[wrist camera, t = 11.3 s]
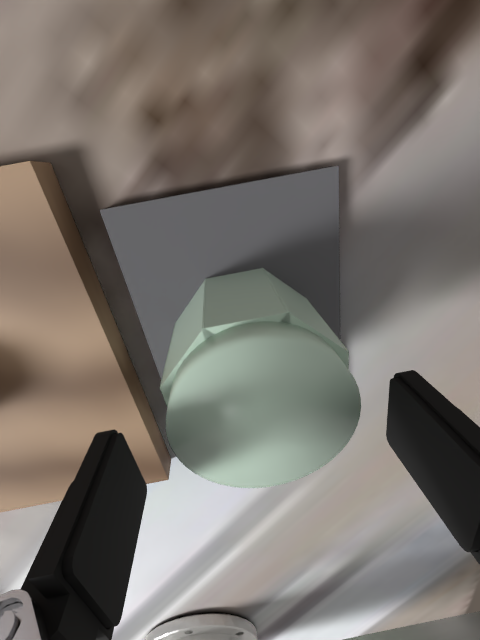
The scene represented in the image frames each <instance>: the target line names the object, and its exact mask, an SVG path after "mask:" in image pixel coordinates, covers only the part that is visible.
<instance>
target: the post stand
mask: <svg viewBox="0 0 480 640" xmlns="http://www.w3.org/2000/svg"><path fill="white" fill-rule="evenodd" d="M114 429H115V430H117V432H118V433H122V434H123V435H124V437H125V440H126V442H127V444H128V446H129V448H130V450H131V452H132V455H133V457H134V459H135V461H136V463H137V465H138V467H139V470H140V472H141V474H142V476H143V478H144V480H145V482H146V484H149V483H154V482H159V481H164V480H168V479H169V471H170V464H171V457H170V455H169V452H168V450H167V448H166V445H165V443H164V440H163V438H162V435H161V433H160V430H159V428H158V425H157V423H156V421H155V418H154V416H153V413H152V411H151V408H150V406H149V403H148V401H147V398H146V396H145V394H144V391H143V389H142V386H141V384H140V381H139V379H138V376H137V374H136V371H135V369H134V367H133V364H132V362H131V359H130V357H129V354H128V352H127V349H126V347H125V344H124V342H123V340H122V337H121V335H120V332H119V330H118V327H117V325H116V322H115V320H114V317H113V315H112V313H111V310H110V308H109V305H108V303H107V300H106V298H105V295H104V293H103V290H102V288H101V285H100V283H99V281H98V278H97V276H96V273H95V271H94V268H93V266H92V263H91V261H90V258H89V256H88V254H87V251H86V249H85V246H84V244H83V241H82V239H81V236H80V234H79V231H78V229H77V227H76V224H75V222H74V219H73V217H72V214H71V212H70V209H69V207H68V204H67V202H66V200H65V197H64V195H63V192H62V190H61V187H60V185H59V182H58V180H57V177H56V175H55V173H54V170H53V168H52V165H51V163H47V162H36V161H27V162H21V163H16V164H10V165H5V166H0V512H5V511H10V510H15V509H20V508H26V507H31V506H36V505H41V504H46V503H51V502H56V501H61V500H63V498H64V496H65V494H66V492H67V490H68V488H69V486H70V484H71V483H72V482H73V481H74V479H75V477H76V475H77V473H78V470H79V468H80V466H81V464H82V462H83V460H84V457H85V455H86V453H87V451H88V449H89V447H90V445H91V442H92V440H93V438H94V436H95V435H96V434H97V433H98V432H103V431H108V430H114Z"/></svg>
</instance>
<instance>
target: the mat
mask: <svg viewBox="0 0 480 640" xmlns="http://www.w3.org/2000/svg"><path fill="white" fill-rule="evenodd" d="M100 213H101V216H102V218H103V221H104V224H105V227H106V229H107V232H108V235H109V238H110V241H111V243H112V246H113V249H114V252H115V254H116V257H117V260H118V263H119V265H120V268H121V271H122V274H123V276H124V279H125V282H126V285H127V287H128V290H129V293H130V296H131V298H132V301H133V304H134V307H135V309H136V312H137V315H138V318H139V320H140V323H141V326H142V329H143V331H144V334H145V337H146V340H147V342H148V345H149V348H150V351H151V353H152V356H153V359H154V362H155V364H156V367H157V370H158V373H159V375H160V378H161V380H162V376H163V371H164V367H165V363H166V359H167V355H168V351H169V347H170V342H171V338H172V334H173V330H174V326H175V322H176V321H177V320H178V318H179V317H180V315H181V314H182V312H183V311H184V310H185V308H186V307H187V305H188V304H189V302H190V301H191V299H192V298H193V296H194V295H195V293H196V292H197V290H198V289H199V287H200V286H201V285H202V283H203V282H204V280H205V279H207V278H212V277H218V276H223V275H228V274H233V273H239V272H244V271H249V270H255V269H260V268H264V269H265V270H266V271H268V272H269V273H271V274H272V275H274V276H275V277H276V278H278V279H279V280H281V281H282V282H284V283H285V284H286V285H288V286H289V287H291V288H292V289H294V290H295V291H296V292H298V293H299V294H301V295H302V296H304V297H306V298H307V300H308V301H309V302H310V303H311V305H312V306H313V307H314V308H315V310H316V311H317V312H318V313H319V315H320V316H321V317H322V318H323V320H324V321H325V322H326V323H327V325H328V326H329V327H330V328H331V330H332V331H333V332H334V333H335V335H336V336H337V337H338V338H339V340H340V260H339V166H331V167H325V168H320V169H315V170H309V171H304V172H299V173H293V174H288V175H282V176H277V177H272V178H266V179H261V180H255V181H250V182H245V183H239V184H234V185H229V186H223V187H218V188H212V189H207V190H202V191H196V192H191V193H186V194H180V195H175V196H169V197H164V198H159V199H153V200H148V201H142V202H137V203H132V204H126V205H121V206H116V207H110V208H105V209H102V210H100Z"/></svg>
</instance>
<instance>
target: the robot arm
mask: <svg viewBox="0 0 480 640" xmlns="http://www.w3.org/2000/svg"><path fill="white" fill-rule="evenodd" d="M386 436H387V440H388V443H389V445H390V446H391V448H392V449H393V450H394V452H395V453H396V455H397V456H398V458H399V459H400V460H401V462H402V463H403V465H404V466H405V468H406V469H407V470H408V472H409V473H410V475H411V476H412V478H413V479H414V480H415V482H416V483H417V485H418V486H419V488H420V489H421V490H422V492H423V493H424V495H425V496H426V498H427V499H428V500H429V502H430V503H431V505H432V506H433V508H434V509H435V510H436V512H437V513H438V515H439V516H440V518H441V519H442V520H443V522H444V523H445V525H446V526H447V528H448V529H449V530H450V532H451V533H452V535H453V536H454V538H455V539H456V540H457V542H458V543H459V545H460V546H461V547H462V548H463V549H464V550H465V551H466V552H471V553H472V555H473V556H474V558H475V559H476V560H477V562H478V563H479V564H480V427H479V426H478V425H476V424H475V423H474V422H473V421H472V420H471V419H470V418H469V417H467V416H466V415H465V414H464V413H463V412H462V411H461V410H460V409H458V408H457V407H455V406H454V405H453V404H452V403H451V402H450V401H449V400H447V399H446V398H445V397H444V396H443V395H442V394H441V393H440V392H438V391H437V390H436V389H435V388H434V387H433V386H432V385H431V384H429V383H428V382H427V381H426V380H425V379H424V378H423V377H422V376H420V375H419V374H418V373H417V372H416V371H413V370H411V371H406V372H401V373H396V374H395V375H394V378H393V379H391V380H390V387H389V402H388V416H387V431H386ZM146 495H147V486H146V482H145V480H144V478H143V476H142V474H141V472H140V470H139V467H138V465H137V463H136V461H135V459H134V457H133V455H132V452H131V450H130V448H129V446H128V444H127V442H126V440H125V437H124V435H123V434H122V433H118V432H117V430H115V429H114V430H108V431H103V432H98V433H97V434H96V435H95V436H94V438H93V440H92V442H91V445H90V447H89V449H88V451H87V453H86V455H85V457H84V460H83V462H82V464H81V466H80V468H79V470H78V473H77V475H76V477H75V479H74V481H73V482H72V483H71V484H70V486H69V488H68V490H67V492H66V494H65V496H64V498H63V500H62V502H61V505H60V507H59V509H58V511H57V513H56V515H55V517H54V519H53V522H52V524H51V526H50V528H49V530H48V532H47V534H46V536H45V539H44V541H43V543H42V545H41V547H40V549H39V551H38V553H37V556H36V558H35V560H34V562H33V564H32V566H31V568H30V570H29V573H28V575H27V577H26V579H25V581H24V583H23V585H22V587H21V589H19V590H11V591H9V592H7V593H4V594H2V595H0V640H111V639H112V634H113V630H114V626H117V625H118V624H119V622H120V620H121V616H122V612H123V607H124V602H125V597H126V592H127V588H128V583H129V578H130V573H131V568H132V563H133V558H134V554H135V549H136V544H137V539H138V534H139V529H140V524H141V519H142V515H143V510H144V505H145V500H146ZM145 640H257V631H256V628H255V626H254V625H253V624H252V623H251V622H249V621H248V620H246V619H244V618H241V617H238V616H234V615H229V614H198V615H191V616H186V617H182V618H178V619H174V620H172V621H169V622H166V623H164V624H162V625H160V626H158V627H156V628H155V629H154V630H152V631H151V632H150V633H149V634H148V635H147V636H146V638H145ZM344 640H480V611H479V612H474V613H469V614H464V615H459V616H454V617H449V618H444V619H440V620H435V621H430V622H425V623H420V624H415V625H411V626H406V627H401V628H396V629H391V630H387V631H382V632H377V633H372V634H367V635H363V636H358V637H353V638H349V639H344Z"/></svg>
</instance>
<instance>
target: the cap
mask: <svg viewBox="0 0 480 640" xmlns="http://www.w3.org/2000/svg"><path fill="white" fill-rule="evenodd" d="M348 355H349V351H348V350H347V348H346V347H345V346H344V345H343V343H342V342H341V341H340V340H339V338H338V337H337V336H336V335H335V333H334V332H333V331H332V330H331V328H330V327H329V326H328V325H327V323H326V322H325V321H324V320H323V318H322V317H321V316H320V315H319V313H318V312H317V311H316V310H315V308H314V307H313V306H312V305H311V303H310V302H309V301H308V300H307V298H306V297H304V296H302V295H301V294H299V293H298V292H296V291H295V290H294V289H292V288H291V287H289V286H288V285H286V284H285V283H284V282H282V281H281V280H279V279H278V278H276V277H275V276H274V275H272V274H271V273H269V272H268V271H266V270H265V269H264V268H260V269H255V270H249V271H244V272H239V273H233V274H228V275H223V276H218V277H212V278H207V279H205V280H204V282H203V283H202V285H201V286H200V287H199V289H198V290H197V292H196V293H195V295H194V296H193V298H192V299H191V301H190V302H189V304H188V305H187V307H186V308H185V310H184V311H183V312H182V314H181V315H180V317H179V318H178V320H177V321H176V322H175V326H174V330H173V334H172V338H171V342H170V347H169V351H168V355H167V359H166V363H165V367H164V371H163V376H162V380H161V384H160V389H161V392H162V395H163V398H164V400H165V403H166V406H167V413H166V434H167V438H168V441H169V444H170V446H171V448H172V450H173V452H174V453H175V455H176V456H177V458H178V459H179V460H180V461H181V462H182V463H183V464H184V465H185V466H186V467H187V468H188V469H190V470H191V471H192V472H194V473H195V474H197V475H199V476H201V477H202V478H205V479H207V480H209V481H212V482H215V483H218V484H221V485H226V486H231V487H239V488H262V487H270V486H276V485H281V484H285V483H288V482H291V481H294V480H297V479H300V478H302V477H304V476H307V475H309V474H311V473H313V472H314V471H316V470H318V469H319V468H321V467H323V466H324V465H326V464H327V463H328V462H329V461H331V460H332V459H333V458H334V457H335V456H336V455H337V454H338V453H339V452H340V451H341V450H342V449H343V448H344V447H345V445H346V444H347V443H348V442H349V440H350V438H351V437H352V435H353V433H354V431H355V429H356V427H357V424H358V420H359V417H360V410H361V399H360V393H359V389H358V386H357V384H356V381H355V379H354V377H353V376H352V375H351V373H350V372H349V370H348Z"/></svg>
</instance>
